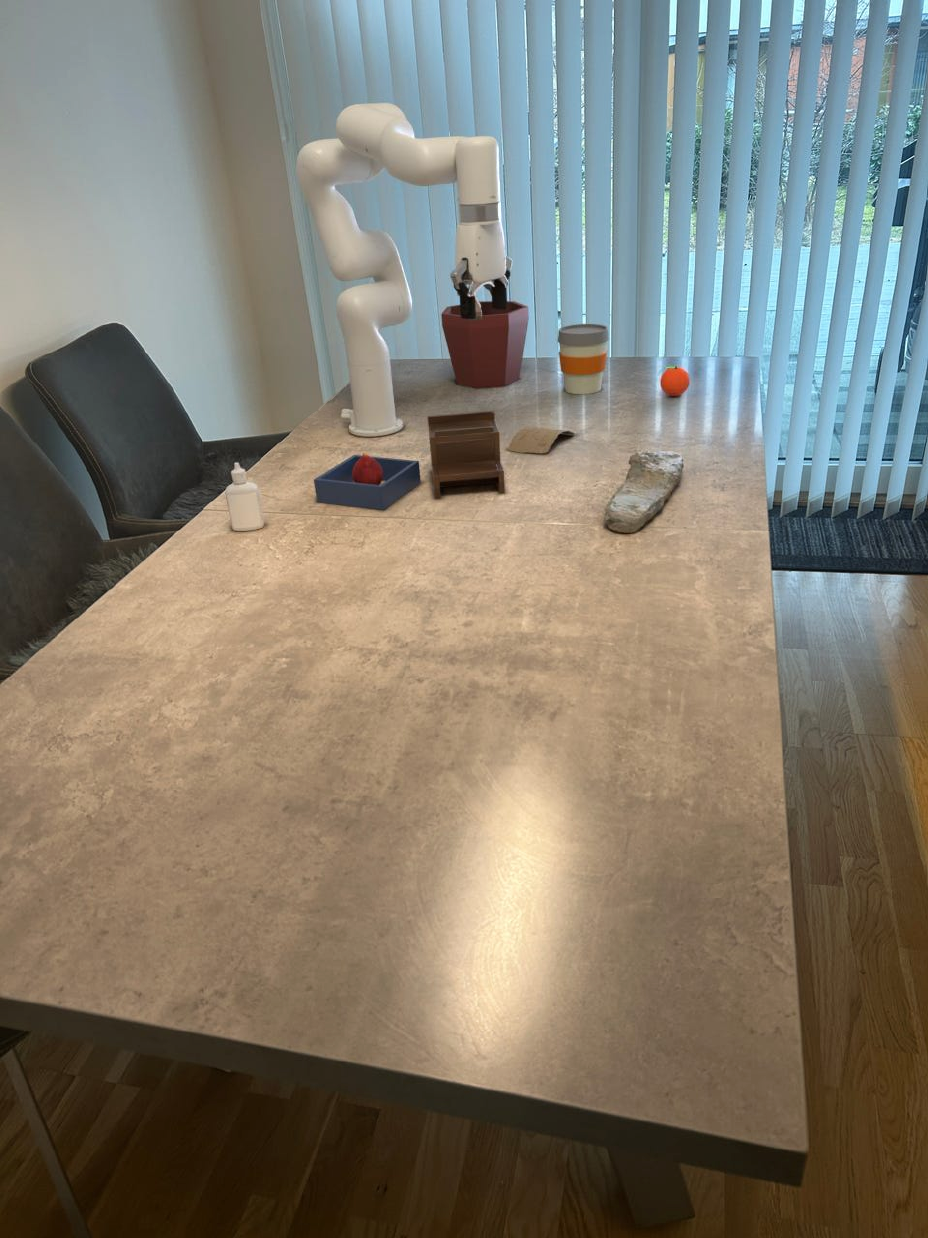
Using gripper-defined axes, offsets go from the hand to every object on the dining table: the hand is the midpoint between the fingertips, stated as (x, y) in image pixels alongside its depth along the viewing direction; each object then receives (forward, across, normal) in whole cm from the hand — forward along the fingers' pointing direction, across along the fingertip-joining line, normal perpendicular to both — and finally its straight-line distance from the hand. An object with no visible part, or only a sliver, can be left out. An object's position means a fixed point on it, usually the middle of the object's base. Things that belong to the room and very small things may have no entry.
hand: (484, 313), depth 168 cm
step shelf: (+29, +12, +3) cm, 32 cm away
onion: (+29, +26, -10) cm, 40 cm away
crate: (+29, +26, -10) cm, 40 cm away
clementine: (+29, -60, +10) cm, 68 cm away
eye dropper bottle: (+29, +49, -17) cm, 60 cm away
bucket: (+30, -53, -42) cm, 73 cm away
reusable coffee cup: (+29, -56, -12) cm, 64 cm away
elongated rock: (+29, +2, +36) cm, 47 cm away
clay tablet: (+29, -15, +2) cm, 33 cm away
